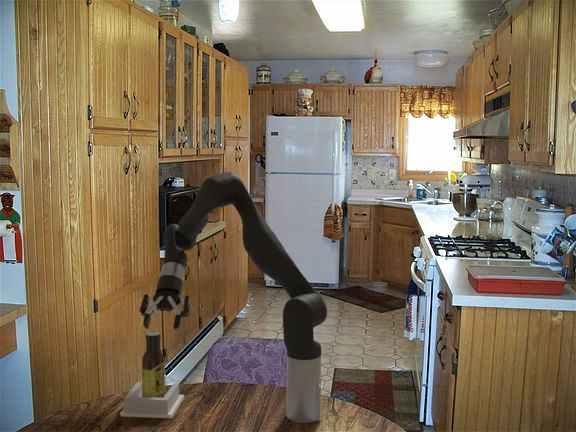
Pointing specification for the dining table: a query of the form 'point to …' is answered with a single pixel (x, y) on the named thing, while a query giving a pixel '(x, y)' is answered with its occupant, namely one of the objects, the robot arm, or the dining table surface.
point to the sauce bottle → (153, 367)
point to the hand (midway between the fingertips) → (160, 328)
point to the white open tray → (151, 403)
